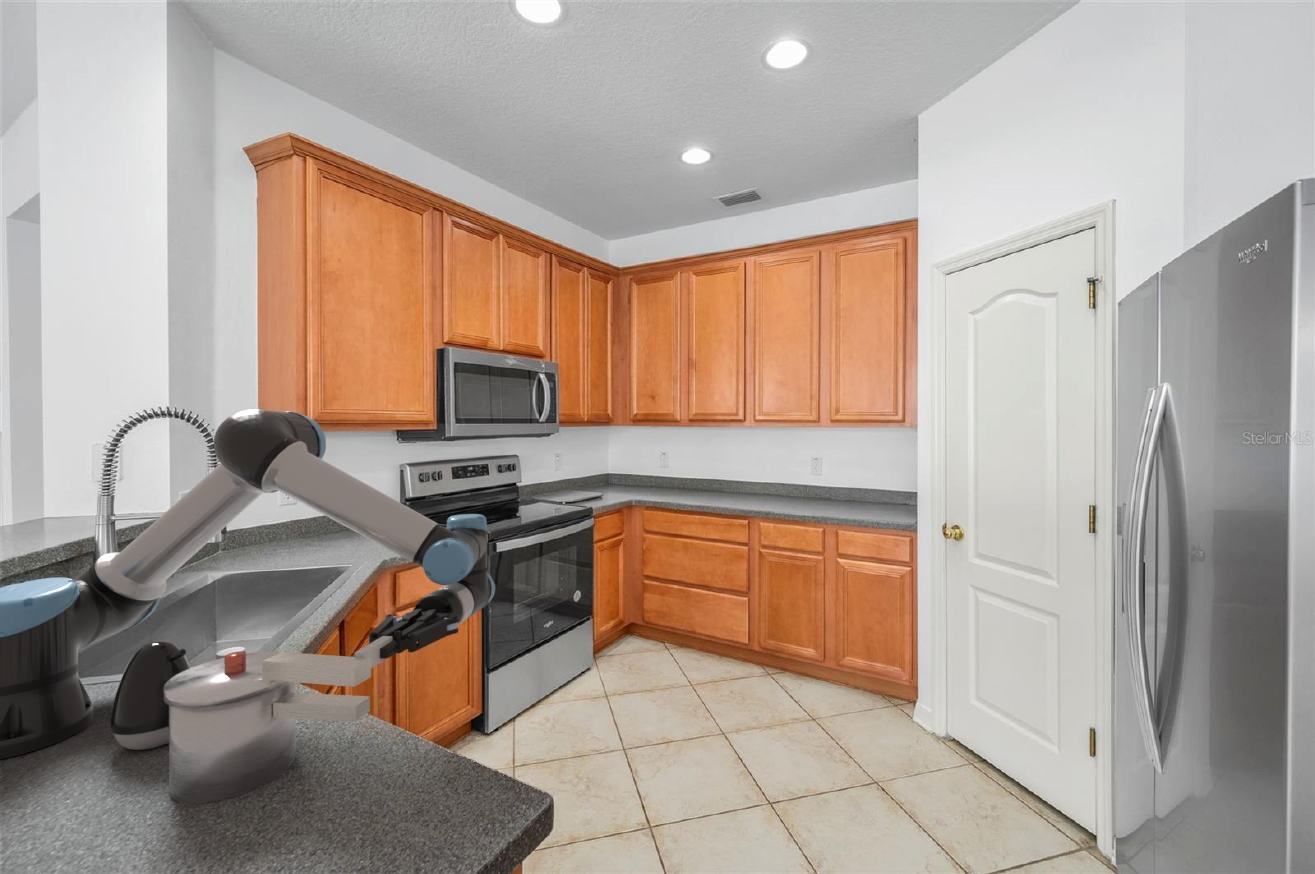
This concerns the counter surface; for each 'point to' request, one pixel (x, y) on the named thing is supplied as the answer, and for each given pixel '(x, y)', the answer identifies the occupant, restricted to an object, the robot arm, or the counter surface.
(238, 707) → the cooker pot
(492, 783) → the counter surface
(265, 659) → the lid
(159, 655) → the pump dispenser
